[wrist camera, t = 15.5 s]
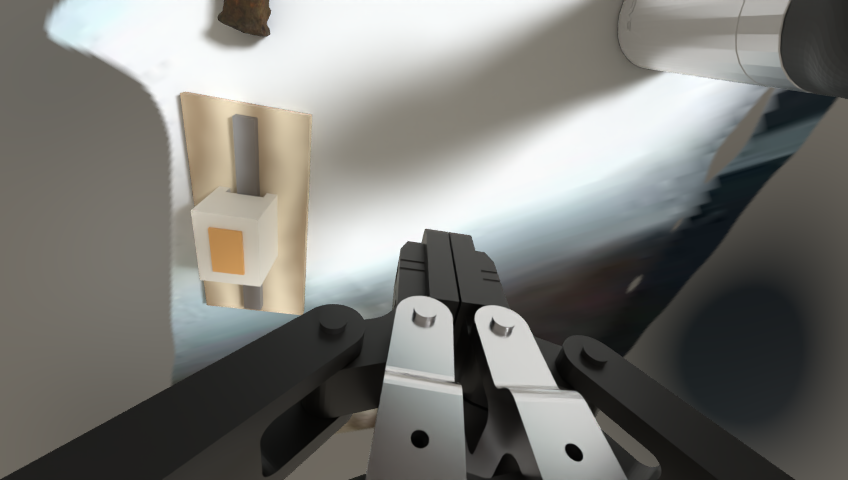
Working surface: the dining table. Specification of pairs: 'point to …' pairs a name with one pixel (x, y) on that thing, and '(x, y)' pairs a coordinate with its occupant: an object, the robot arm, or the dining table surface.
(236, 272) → the block
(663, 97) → the dining table surface
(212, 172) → the rail board
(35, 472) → the robot arm
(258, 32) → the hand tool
